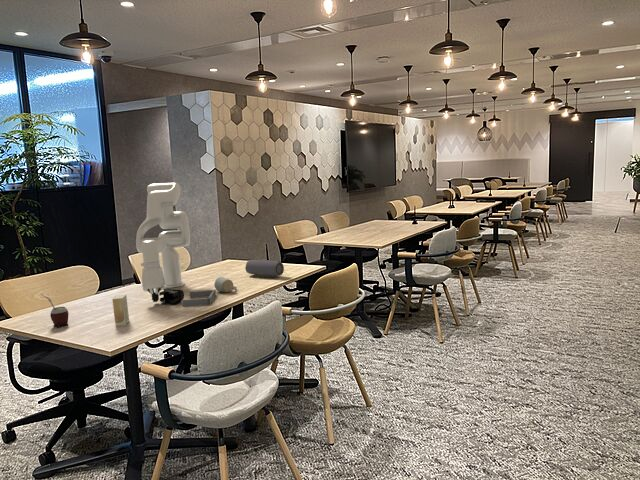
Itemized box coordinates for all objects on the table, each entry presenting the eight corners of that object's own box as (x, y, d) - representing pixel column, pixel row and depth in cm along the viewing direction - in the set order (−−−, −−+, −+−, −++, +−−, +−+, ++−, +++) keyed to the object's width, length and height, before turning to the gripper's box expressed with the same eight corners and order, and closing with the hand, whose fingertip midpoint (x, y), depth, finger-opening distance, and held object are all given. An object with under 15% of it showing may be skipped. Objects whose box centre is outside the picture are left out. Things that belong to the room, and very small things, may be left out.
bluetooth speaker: (285, 276, 301) (284, 259, 300) (275, 279, 294) (274, 262, 292) (255, 273, 314) (254, 257, 312) (245, 277, 306) (244, 260, 305)
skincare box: (119, 322, 224) (116, 295, 223) (129, 321, 225) (126, 294, 223) (115, 326, 218) (111, 298, 216) (125, 325, 218) (122, 297, 217)
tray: (190, 297, 263) (190, 291, 262) (215, 295, 263) (215, 289, 263) (182, 306, 245) (182, 300, 244) (210, 304, 245) (209, 298, 245)
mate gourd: (72, 323, 227) (68, 290, 225) (64, 328, 219) (60, 294, 217) (55, 324, 227) (51, 291, 225) (46, 329, 219) (42, 295, 217)
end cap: (185, 301, 254) (183, 288, 253) (175, 305, 248) (174, 291, 247) (168, 300, 258) (167, 287, 257) (159, 304, 252) (158, 290, 251)
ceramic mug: (223, 294, 265) (222, 279, 264) (214, 292, 271) (213, 277, 270) (240, 290, 272) (239, 276, 271) (231, 288, 278) (230, 274, 277)
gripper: (134, 267, 247) (138, 304, 249) (165, 265, 247) (168, 302, 249) (139, 264, 254) (142, 300, 256) (169, 262, 254) (172, 298, 257)
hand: (155, 301), depth 253 cm, fingers closed
